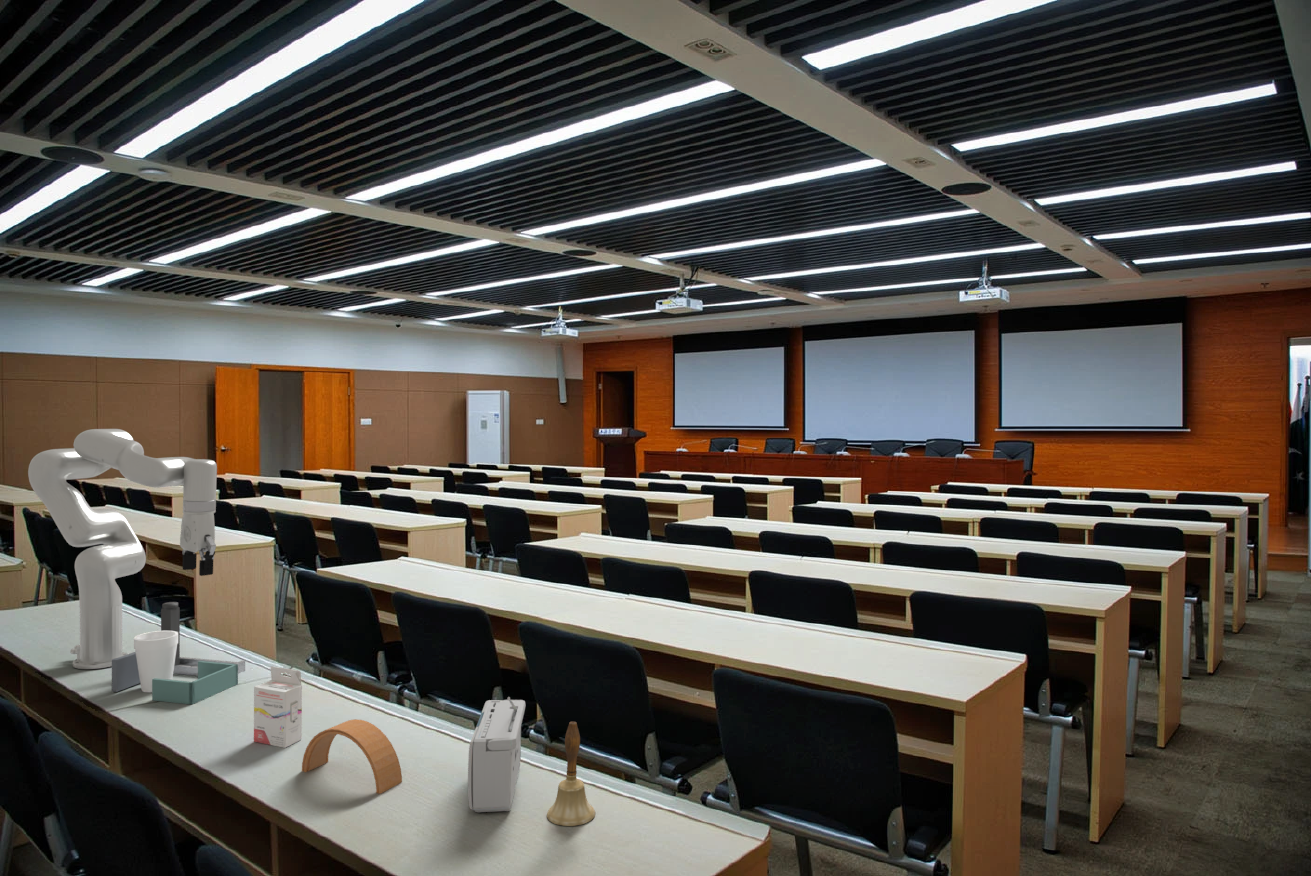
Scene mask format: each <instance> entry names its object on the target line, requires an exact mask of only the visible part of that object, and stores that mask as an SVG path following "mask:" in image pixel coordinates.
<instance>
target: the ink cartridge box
mask: <svg viewBox="0 0 1311 876" xmlns="http://www.w3.org/2000/svg"><path fill="white" fill-rule="evenodd" d="M285 673H286V674H287V675H290V676H285V675H284V676H283V675H282V674H285ZM270 678H271V679H270V680H267V681H266V682H265V681H264V682H263V683H261V684H258V685H255V686H254V687H253V689H254V690H253V691H254V692H253V742H254V743H258V744H259V743H260V744H264V745H268V746H273V747H277V748H283V749H285V748H288V747H290V746H291V745H293V744H296V743H298V742H300V741H301V740H302V735H303V733H302V729H303V727H302V726H303V720H302V719H303V711H302V710H303V686H302V673H301V671H300V670H298V669H297V670H296V669H290V668H286V667H277V666H271V667H270Z"/></svg>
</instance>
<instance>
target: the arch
mask: <svg viewBox="0 0 1311 876" xmlns="http://www.w3.org/2000/svg"><path fill="white" fill-rule="evenodd" d="M337 735H339V736H343V737H345V738H348V739H349V740H350V741H352V742H354V743H355V744H356V745H357V747H358V748H359V749H360V750H361V751H362V753H363V754H364V756H365V758H367V761H368V763H369V764H370V765H369V766H370V767H371V771H372V773H373V778H374V781H375V783H374V784H375V789H376V790H375V793H376V794H378V795H380V794H382V793H384V792H387V791H388V790H391V789H392V788H394V787H395V786H397V785H399V784H401V783H402V782H403V776H402V767H401V765H400V764H401V763H400V760H399V756H398V754H397V752H396V750H395V747H394V746H393V744H392V742H391V741H390V739H389V738H388V737H387V735H385V733H384V732H383V731H382V730H381V729H379V728H378V727H377V726H376V725H375V724H372V723H371V722H369V721H367V720H363V719H350V720H349V719H348V720H346V721H344V722H341V723H339V724H337V725H334V726H331V727H329V728H327V729H324V730H322V731H320V732H318V733H317V734H315V735H314V736H313V737H312V739H311V740H310V741H309V743H308V744H307V746H306V748H305V751H304V754H303V757H302V761H301V762H302V763H301V772H303V773H307V772H309V771H312V770H314V769H317V768H319V767H320V766H323V765H325V764H327V763H328V762H329V754H330V749H331V747H332V744H333V741H334V740H335V738H336V736H337Z"/></svg>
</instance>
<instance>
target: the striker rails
mask: <svg viewBox="0 0 1311 876" xmlns="http://www.w3.org/2000/svg"><path fill="white" fill-rule="evenodd" d="M199 661H206V662H217V663H228V664H238V674H240V673H243V672H245V671H246V661H245V660H240V661H231V660H230V661H229V660H219V659H218V660H217V659H207V658H199V657H198V658H197V657H186V656H185V657H184V656H180V665H175V664H174V671H173V675H174V674H175V675H185V676H186V675H187V676H195V677H196V676H197V677H198V662H199Z"/></svg>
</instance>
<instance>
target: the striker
mask: <svg viewBox="0 0 1311 876" xmlns="http://www.w3.org/2000/svg"><path fill="white" fill-rule="evenodd" d="M161 606H162V608H161V609H160V631H176V632H178V644H177V650H176V657H175V665H180V657H181V655H180V652H181V651H180V648H181V647H180V645H181V644H180V643H181V642H180V637H181V636H180V633H181V632H180V631H181V630H180V629H181V628H180V627H181V626H180V624H181V623H180V622H181V620H180V615H181V612H180V611H181V610H180V607H179V602H177V601H169V602H163V603H162V605H161ZM138 684H140V677H139V671H138V665H137V658H136V652H135V651H134V652H130V653H127V655H124V656H121V657H118V658H115V659H112V666H111V692H120V691H122V690H125V689H128V688H131V687H133V686H137V685H138Z"/></svg>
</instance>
